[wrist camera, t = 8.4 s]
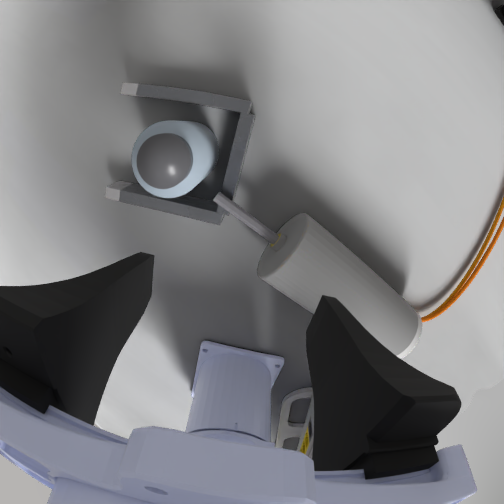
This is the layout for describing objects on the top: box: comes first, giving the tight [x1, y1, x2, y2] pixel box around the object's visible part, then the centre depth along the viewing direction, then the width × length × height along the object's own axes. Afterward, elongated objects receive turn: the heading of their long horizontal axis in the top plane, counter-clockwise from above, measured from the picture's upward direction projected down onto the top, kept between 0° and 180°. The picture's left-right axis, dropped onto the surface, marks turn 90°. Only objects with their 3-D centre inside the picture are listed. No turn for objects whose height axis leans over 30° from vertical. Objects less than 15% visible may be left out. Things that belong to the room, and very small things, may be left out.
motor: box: [213, 192, 504, 359], centre depth 18 cm, size 23×22×5 cm
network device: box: [275, 387, 314, 459], centre depth 23 cm, size 26×9×20 cm, turn 0°
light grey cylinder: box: [131, 120, 219, 198], centre depth 16 cm, size 4×4×5 cm
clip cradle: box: [105, 83, 256, 225], centre depth 18 cm, size 8×9×2 cm
